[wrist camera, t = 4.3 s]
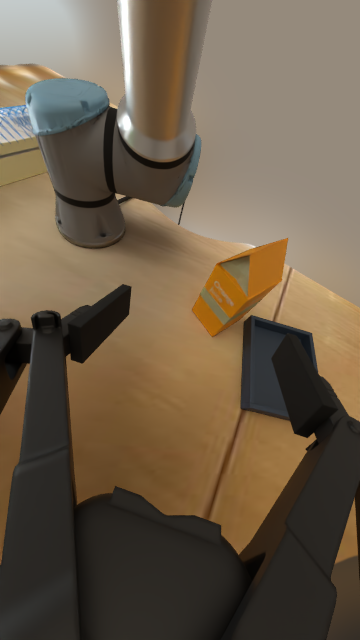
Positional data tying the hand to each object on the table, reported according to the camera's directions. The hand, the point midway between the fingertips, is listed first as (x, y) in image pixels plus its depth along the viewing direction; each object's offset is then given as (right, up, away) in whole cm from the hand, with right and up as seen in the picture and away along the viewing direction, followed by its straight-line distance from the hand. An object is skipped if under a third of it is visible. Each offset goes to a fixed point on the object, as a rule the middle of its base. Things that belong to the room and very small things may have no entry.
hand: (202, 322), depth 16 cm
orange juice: (+6, +1, +28) cm, 28 cm away
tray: (+18, -10, +24) cm, 32 cm away
